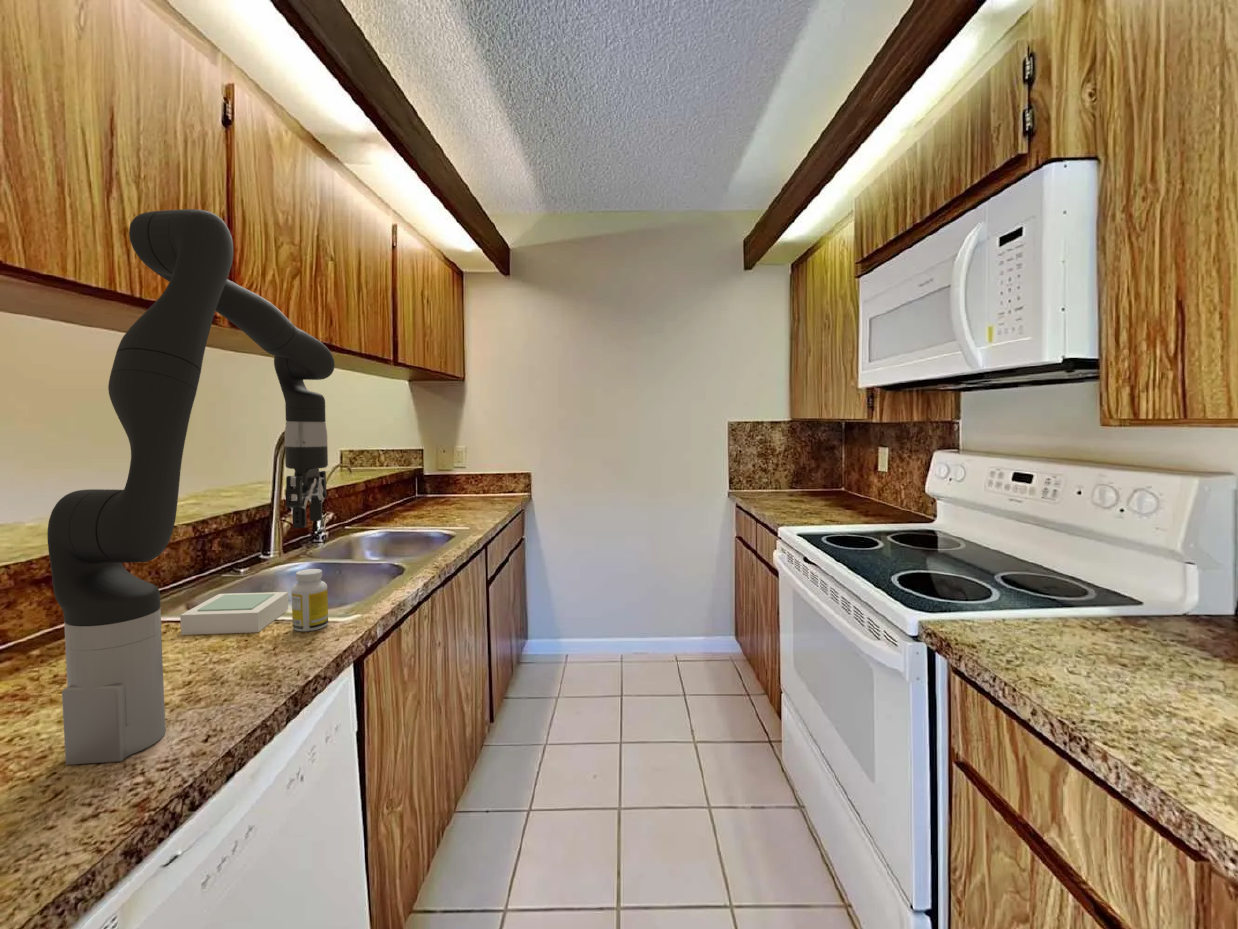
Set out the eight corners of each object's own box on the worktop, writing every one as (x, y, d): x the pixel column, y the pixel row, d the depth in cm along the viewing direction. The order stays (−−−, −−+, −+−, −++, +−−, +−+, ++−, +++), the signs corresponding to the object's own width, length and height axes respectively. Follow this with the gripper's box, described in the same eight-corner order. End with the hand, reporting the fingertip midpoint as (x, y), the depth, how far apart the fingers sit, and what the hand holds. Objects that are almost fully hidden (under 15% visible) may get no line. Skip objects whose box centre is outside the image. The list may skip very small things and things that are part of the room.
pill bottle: (334, 622, 119) (333, 568, 118) (315, 633, 113) (314, 576, 112) (305, 620, 120) (304, 567, 119) (284, 631, 113) (283, 575, 112)
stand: (258, 632, 113) (257, 611, 112) (181, 635, 111) (180, 613, 110) (288, 609, 127) (287, 590, 126) (219, 611, 124) (219, 592, 124)
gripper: (312, 446, 107) (314, 530, 108) (338, 443, 121) (339, 518, 122) (270, 445, 106) (272, 531, 107) (300, 442, 120) (302, 518, 121)
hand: (308, 524), depth 115 cm, fingers open, 8 cm apart
